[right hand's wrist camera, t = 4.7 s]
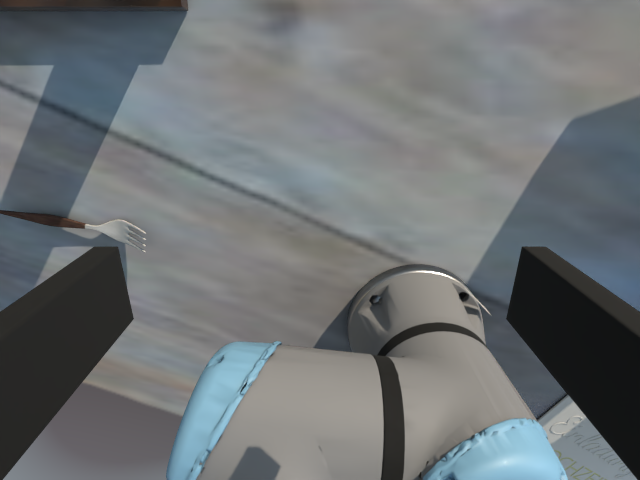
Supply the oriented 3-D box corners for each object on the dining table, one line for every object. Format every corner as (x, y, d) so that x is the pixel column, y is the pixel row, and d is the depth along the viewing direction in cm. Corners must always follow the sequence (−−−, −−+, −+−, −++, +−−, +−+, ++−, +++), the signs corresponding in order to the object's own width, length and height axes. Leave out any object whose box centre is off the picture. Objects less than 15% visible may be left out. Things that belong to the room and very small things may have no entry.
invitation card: (488, 463, 53) (570, 395, 48) (487, 461, 53) (569, 393, 48) (590, 518, 57) (674, 461, 53) (589, 516, 57) (672, 459, 53)
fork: (-3, 197, 39) (-19, 202, 37) (153, 224, 40) (145, 231, 38) (0, 220, 40) (-15, 227, 38) (153, 247, 41) (145, 254, 39)
